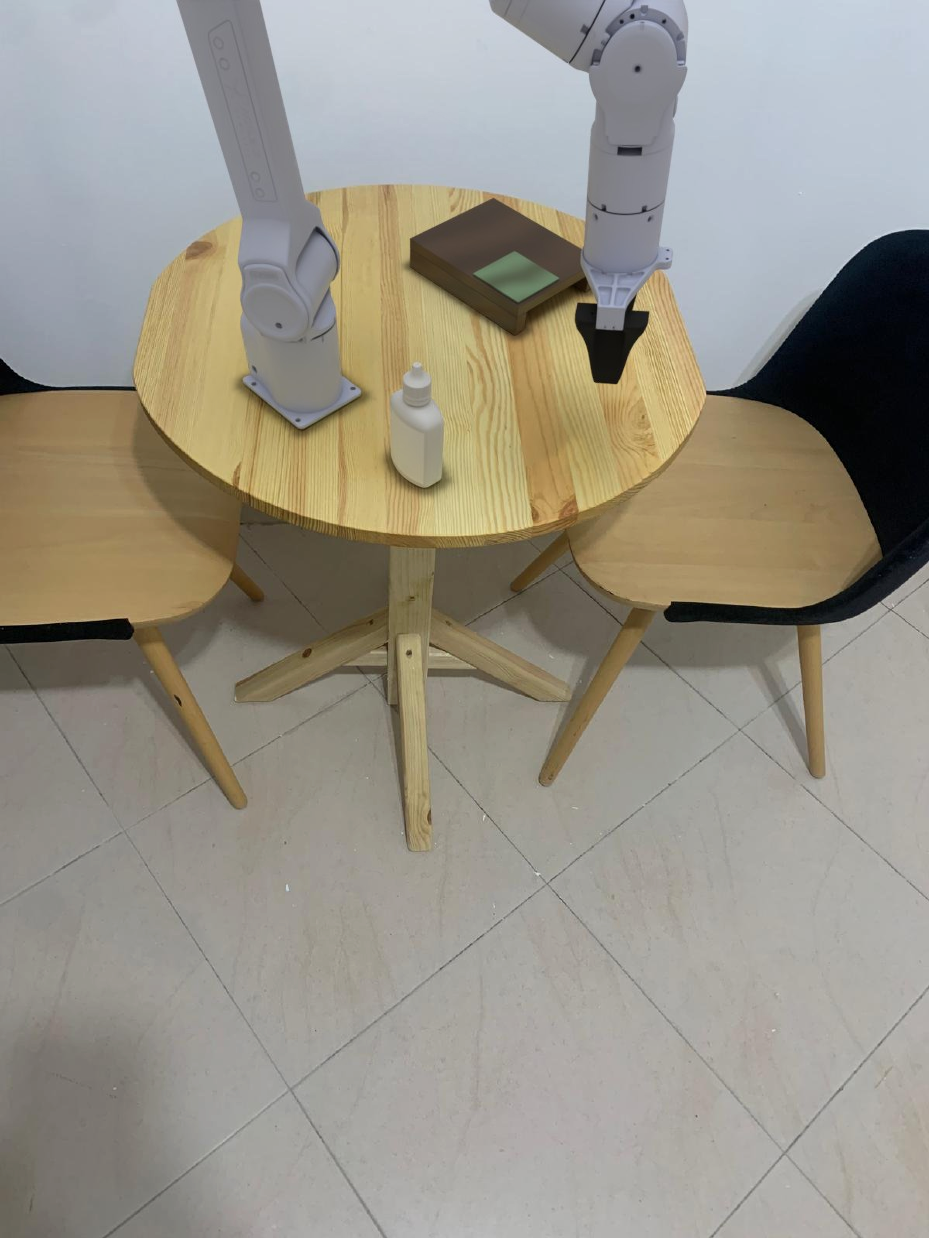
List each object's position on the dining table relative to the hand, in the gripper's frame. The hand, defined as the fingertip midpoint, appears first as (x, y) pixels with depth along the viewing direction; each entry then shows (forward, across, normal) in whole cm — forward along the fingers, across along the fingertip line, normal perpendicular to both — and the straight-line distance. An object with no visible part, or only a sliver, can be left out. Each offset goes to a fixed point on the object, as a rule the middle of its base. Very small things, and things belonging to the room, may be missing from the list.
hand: (610, 353), depth 68 cm
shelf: (+9, +25, +14) cm, 30 cm away
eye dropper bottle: (+9, -8, +17) cm, 21 cm away
